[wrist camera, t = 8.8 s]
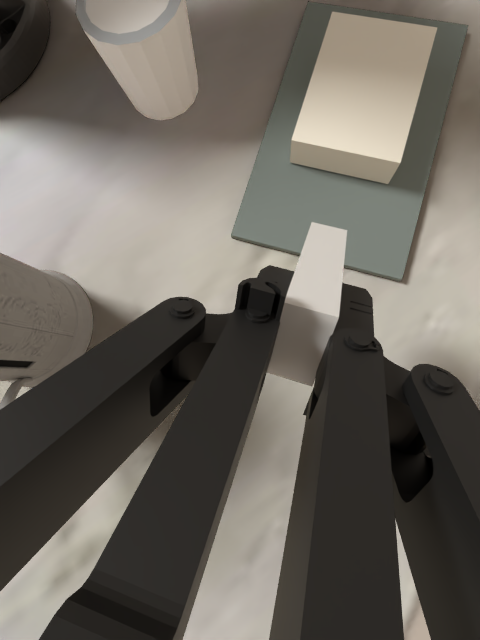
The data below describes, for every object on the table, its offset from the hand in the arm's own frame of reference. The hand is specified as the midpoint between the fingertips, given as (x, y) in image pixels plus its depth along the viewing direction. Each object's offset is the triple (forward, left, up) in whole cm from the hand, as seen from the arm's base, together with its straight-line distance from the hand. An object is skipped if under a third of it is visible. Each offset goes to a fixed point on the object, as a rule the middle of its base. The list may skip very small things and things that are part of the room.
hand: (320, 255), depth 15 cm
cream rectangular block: (-7, +6, -7) cm, 12 cm away
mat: (-10, +8, -9) cm, 16 cm away
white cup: (-20, -3, -9) cm, 22 cm away
